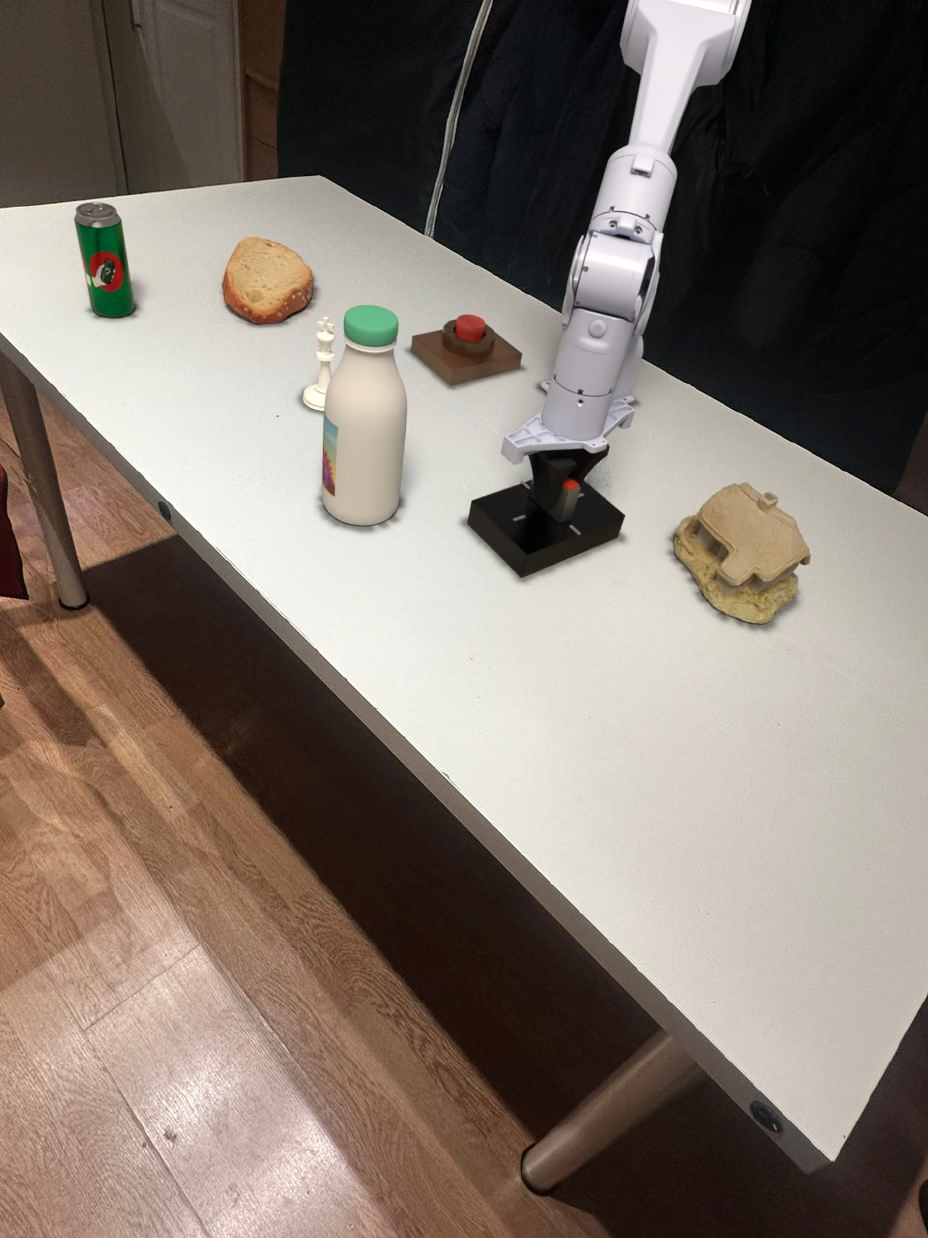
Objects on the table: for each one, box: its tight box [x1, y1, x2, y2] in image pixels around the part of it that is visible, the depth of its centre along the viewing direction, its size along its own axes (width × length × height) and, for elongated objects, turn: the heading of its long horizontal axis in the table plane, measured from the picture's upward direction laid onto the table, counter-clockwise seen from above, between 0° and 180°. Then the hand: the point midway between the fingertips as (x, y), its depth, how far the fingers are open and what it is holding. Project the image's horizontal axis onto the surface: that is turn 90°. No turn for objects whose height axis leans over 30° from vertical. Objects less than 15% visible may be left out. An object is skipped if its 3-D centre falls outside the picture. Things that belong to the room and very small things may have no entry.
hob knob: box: [528, 476, 581, 524], centre depth 80 cm, size 5×2×4 cm, turn 36°
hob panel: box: [466, 479, 626, 578], centre depth 83 cm, size 13×9×3 cm
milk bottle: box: [321, 304, 408, 526], centre depth 76 cm, size 8×8×20 cm
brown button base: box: [410, 318, 523, 387], centre depth 104 cm, size 11×9×4 cm
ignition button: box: [455, 313, 486, 340], centre depth 102 cm, size 4×4×2 cm
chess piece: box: [302, 316, 336, 412], centre depth 91 cm, size 5×5×10 cm
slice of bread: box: [221, 236, 314, 325], centre depth 111 cm, size 18×18×4 cm
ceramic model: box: [673, 481, 812, 624], centre depth 80 cm, size 14×11×10 cm
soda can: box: [73, 201, 136, 319], centre depth 98 cm, size 5×5×12 cm
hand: (551, 501), depth 81 cm, fingers closed on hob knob, 2 cm apart
